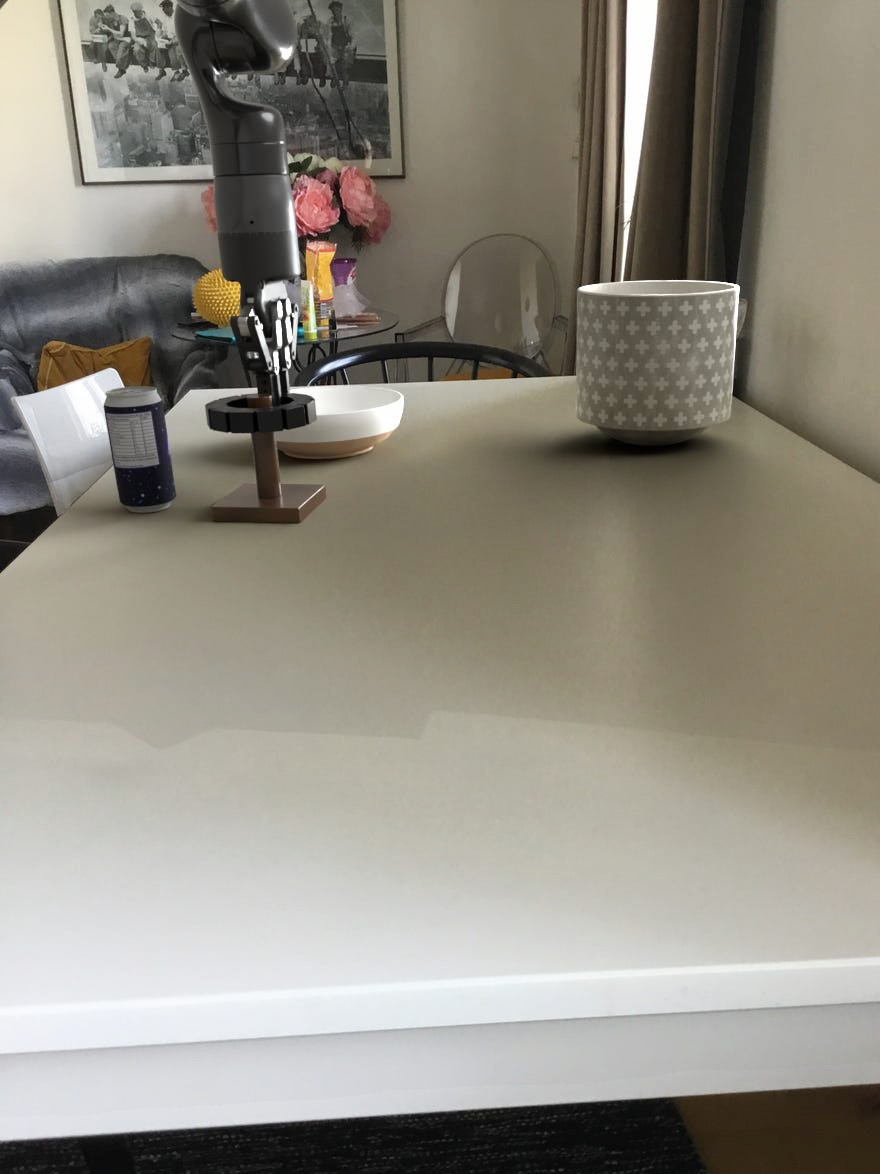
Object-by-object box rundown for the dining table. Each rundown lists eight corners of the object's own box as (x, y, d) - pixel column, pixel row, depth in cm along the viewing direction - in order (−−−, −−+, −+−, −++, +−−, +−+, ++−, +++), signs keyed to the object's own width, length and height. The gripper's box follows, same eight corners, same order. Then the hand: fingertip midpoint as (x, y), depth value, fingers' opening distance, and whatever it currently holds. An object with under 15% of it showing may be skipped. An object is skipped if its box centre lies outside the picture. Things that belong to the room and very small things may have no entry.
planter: (736, 456, 122) (747, 293, 115) (572, 456, 125) (573, 296, 118) (721, 423, 140) (731, 279, 133) (578, 423, 142) (579, 281, 135)
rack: (212, 521, 104) (197, 404, 100) (245, 496, 112) (232, 387, 108) (300, 523, 103) (288, 404, 98) (326, 498, 111) (316, 387, 106)
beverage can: (188, 505, 110) (171, 389, 105) (139, 518, 106) (119, 397, 101) (159, 496, 113) (142, 383, 108) (110, 508, 109) (90, 391, 105)
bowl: (426, 434, 138) (423, 387, 136) (374, 470, 121) (370, 417, 119) (289, 430, 143) (285, 384, 141) (221, 464, 126) (214, 413, 124)
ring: (190, 433, 100) (188, 412, 99) (232, 411, 110) (230, 392, 109) (295, 434, 98) (293, 412, 98) (328, 412, 108) (327, 392, 107)
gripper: (269, 229, 94) (289, 423, 101) (316, 224, 106) (330, 397, 113) (190, 231, 95) (215, 423, 102) (245, 225, 108) (264, 397, 114)
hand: (275, 408), depth 108 cm, fingers closed on ring, 2 cm apart
